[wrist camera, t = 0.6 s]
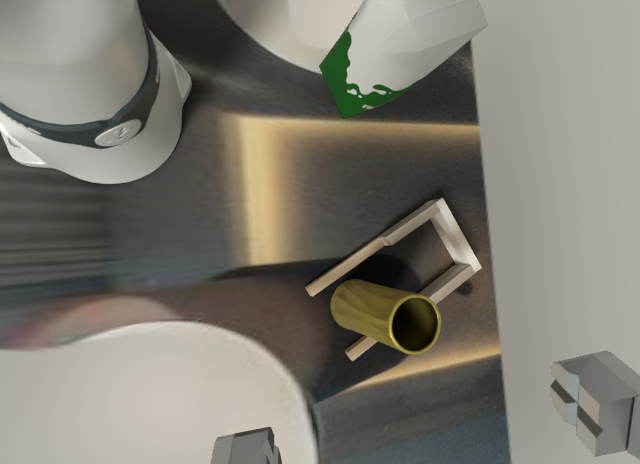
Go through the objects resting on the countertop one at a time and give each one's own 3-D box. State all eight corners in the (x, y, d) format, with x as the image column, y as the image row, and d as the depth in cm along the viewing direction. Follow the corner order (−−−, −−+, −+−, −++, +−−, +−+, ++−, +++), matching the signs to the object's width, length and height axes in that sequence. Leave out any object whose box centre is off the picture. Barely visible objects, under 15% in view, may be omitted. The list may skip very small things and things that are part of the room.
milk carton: (367, 41, 50) (472, -92, 31) (396, 106, 50) (516, 16, 31) (308, 61, 47) (383, -69, 28) (340, 130, 48) (433, 48, 29)
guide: (304, 287, 45) (312, 289, 43) (429, 200, 51) (442, 197, 48) (349, 358, 47) (359, 365, 44) (466, 266, 52) (481, 267, 49)
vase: (378, 281, 48) (448, 292, 35) (373, 330, 48) (443, 361, 34) (333, 276, 46) (388, 285, 33) (327, 327, 46) (381, 358, 32)
